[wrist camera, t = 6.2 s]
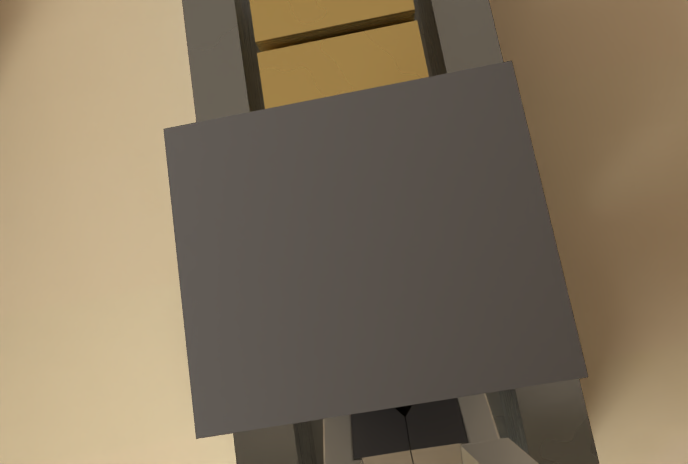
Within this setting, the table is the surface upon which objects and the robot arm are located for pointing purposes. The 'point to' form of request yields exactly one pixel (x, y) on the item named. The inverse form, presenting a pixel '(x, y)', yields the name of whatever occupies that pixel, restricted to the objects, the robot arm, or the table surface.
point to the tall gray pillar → (366, 254)
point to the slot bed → (441, 57)
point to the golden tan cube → (342, 64)
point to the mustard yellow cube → (322, 19)
